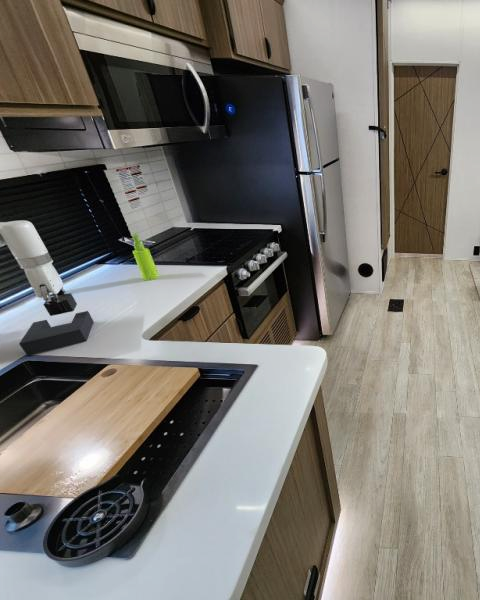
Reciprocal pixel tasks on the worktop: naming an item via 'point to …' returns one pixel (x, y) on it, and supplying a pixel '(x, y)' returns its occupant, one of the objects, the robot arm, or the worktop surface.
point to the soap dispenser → (144, 260)
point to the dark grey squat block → (67, 302)
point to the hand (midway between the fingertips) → (63, 308)
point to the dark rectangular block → (56, 334)
